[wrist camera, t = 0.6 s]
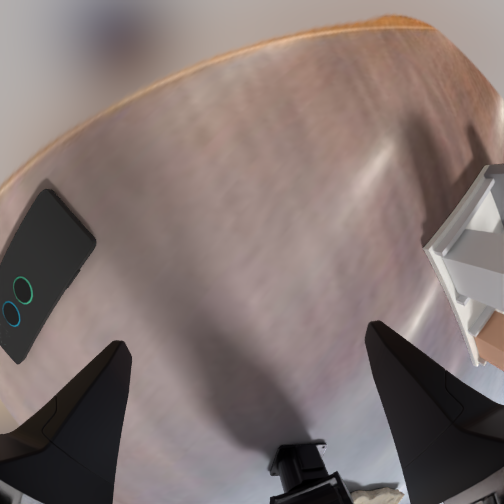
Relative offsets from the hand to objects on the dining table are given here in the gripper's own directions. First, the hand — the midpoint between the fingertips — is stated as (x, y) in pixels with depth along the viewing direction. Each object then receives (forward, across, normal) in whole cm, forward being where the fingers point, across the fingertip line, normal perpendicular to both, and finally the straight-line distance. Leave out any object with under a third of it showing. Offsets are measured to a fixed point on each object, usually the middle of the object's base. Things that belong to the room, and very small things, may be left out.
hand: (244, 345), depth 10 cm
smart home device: (+13, +24, +5) cm, 27 cm away
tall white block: (+15, -25, +9) cm, 31 cm away
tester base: (+16, -33, +12) cm, 39 cm away
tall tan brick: (+12, -34, +20) cm, 41 cm away
